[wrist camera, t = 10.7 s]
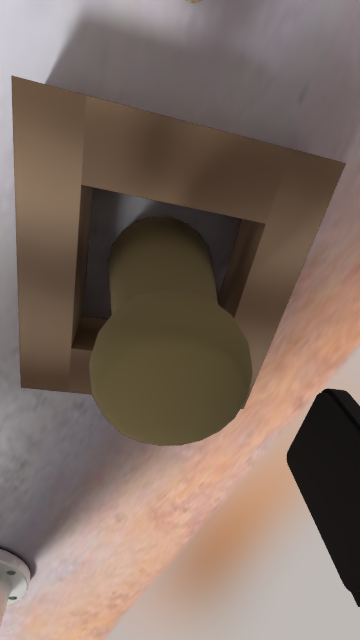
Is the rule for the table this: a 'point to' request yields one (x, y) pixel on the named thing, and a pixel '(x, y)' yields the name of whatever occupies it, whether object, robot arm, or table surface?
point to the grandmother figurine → (194, 1)
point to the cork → (167, 340)
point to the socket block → (156, 184)
